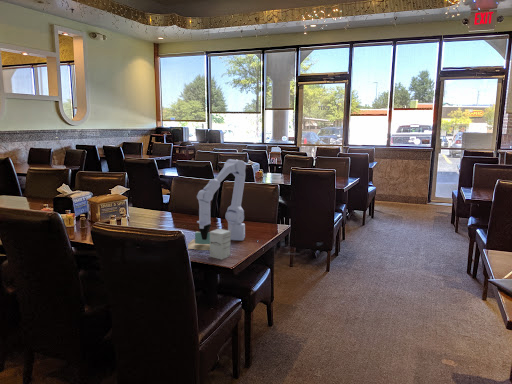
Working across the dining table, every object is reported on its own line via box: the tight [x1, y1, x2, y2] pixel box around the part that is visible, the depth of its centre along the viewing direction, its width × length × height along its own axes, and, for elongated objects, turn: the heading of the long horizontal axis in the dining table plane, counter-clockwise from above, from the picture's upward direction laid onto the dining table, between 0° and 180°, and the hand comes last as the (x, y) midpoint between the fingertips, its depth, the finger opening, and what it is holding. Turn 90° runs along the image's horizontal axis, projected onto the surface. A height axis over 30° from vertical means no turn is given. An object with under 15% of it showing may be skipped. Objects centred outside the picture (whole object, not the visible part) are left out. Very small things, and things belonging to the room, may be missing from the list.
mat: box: [187, 238, 210, 252], centre depth 196 cm, size 16×16×1 cm
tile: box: [194, 231, 210, 244], centre depth 194 cm, size 10×2×6 cm, turn 84°
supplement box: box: [209, 228, 231, 260], centre depth 178 cm, size 7×7×13 cm
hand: (204, 238), depth 194 cm, fingers closed on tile, 1 cm apart
